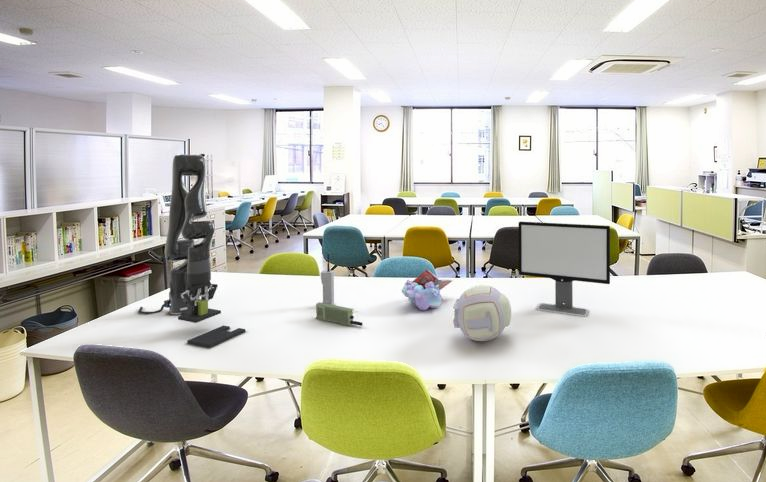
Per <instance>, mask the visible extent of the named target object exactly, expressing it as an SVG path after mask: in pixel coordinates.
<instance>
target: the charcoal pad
mask: <svg viewBox="0 0 766 482" xmlns="http://www.w3.org/2000/svg"><path fill="white" fill-rule="evenodd" d="M230 329H231V326H229V325H224V324H223V325H221V326H218V327H216V328H213V329H211V330H209V331H207V332H204V333H201V334H199V335H197V336H194V337H192V338H189V339H187V340H186V341H187V344H188V345H193V346H198V347H203V348H209V349H212V348H214V347H216V346H218V345H220V344H222V343H225V342H227V341H229V340H231V339H233V338H235V337H238V336H240V335H242V334H244V333H246V328H241V327H238V328H236V329H234V330H231V331H229V330H230Z"/></svg>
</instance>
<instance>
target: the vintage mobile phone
mask: <svg viewBox="0 0 766 482" xmlns="http://www.w3.org/2000/svg"><path fill="white" fill-rule="evenodd" d="M326 264H327V266H326V267H327V270H322V271H321V272H320V279H321V285H322V301H321V303H326V304H331V305H335V270H331V269H330V254H329V253H328V254H327V263H326Z"/></svg>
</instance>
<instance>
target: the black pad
mask: <svg viewBox="0 0 766 482" xmlns="http://www.w3.org/2000/svg"><path fill="white" fill-rule="evenodd" d="M221 314H222V310H221V309H214V308H209V301H208V300H202V299H201V298H199V300H198V314H197V315H193V314H192V312H191V310H188V311H185V312H182V313H181V314H180V315H179V316H178V315H177V320H179V321H184V322H188V323H193V324H197V323H199V322H202V321H205V320H208V319H210V318H212V317H215V316H218V315H221Z"/></svg>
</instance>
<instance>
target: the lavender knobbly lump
mask: <svg viewBox="0 0 766 482" xmlns="http://www.w3.org/2000/svg"><path fill="white" fill-rule="evenodd" d="M453 281H454V280H451V279H439V277H438V276H436V275H435V274H434V273H433V272H432V271H430V270H429V269H426V270H424V271H423V272H422V273H421V274H420V275H418V276H417V277H416V278H414V279H413V280H411V279H407V280H406V282H405V283H404V286H403V287H402V289H401V293H402V294H403V295H404V297H406V298H408V300H409V302H410V303H412V304H413V305H414V306H415V307H417V308H418V309H419V310H421V311H427V310H428V309H429V308H432V309H435V308H438V307H439V306H440V305H441V304H442V301H443V299H442V294H441V290H443V289H444V288H445V287H447V286H448V285H450V283H452V282H453Z"/></svg>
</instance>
